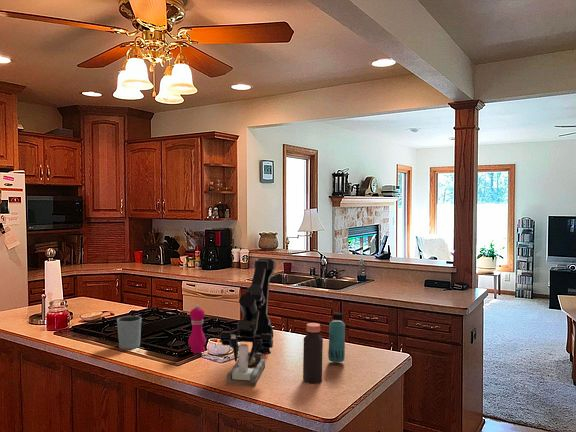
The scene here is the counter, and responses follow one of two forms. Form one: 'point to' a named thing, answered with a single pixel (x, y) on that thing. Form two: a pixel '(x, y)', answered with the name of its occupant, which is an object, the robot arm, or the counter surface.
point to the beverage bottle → (336, 339)
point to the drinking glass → (129, 332)
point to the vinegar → (312, 354)
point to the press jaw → (243, 365)
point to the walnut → (251, 361)
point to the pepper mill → (197, 330)
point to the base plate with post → (258, 370)
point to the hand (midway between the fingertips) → (242, 361)
